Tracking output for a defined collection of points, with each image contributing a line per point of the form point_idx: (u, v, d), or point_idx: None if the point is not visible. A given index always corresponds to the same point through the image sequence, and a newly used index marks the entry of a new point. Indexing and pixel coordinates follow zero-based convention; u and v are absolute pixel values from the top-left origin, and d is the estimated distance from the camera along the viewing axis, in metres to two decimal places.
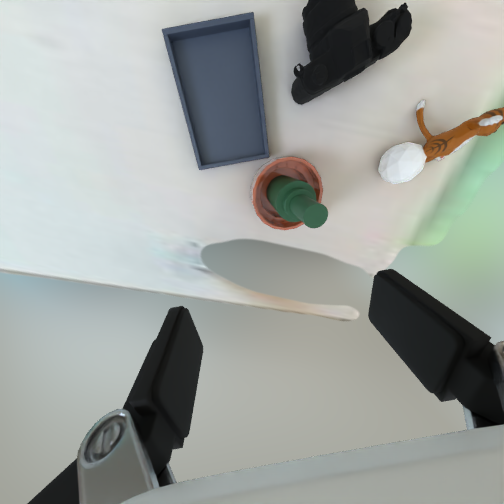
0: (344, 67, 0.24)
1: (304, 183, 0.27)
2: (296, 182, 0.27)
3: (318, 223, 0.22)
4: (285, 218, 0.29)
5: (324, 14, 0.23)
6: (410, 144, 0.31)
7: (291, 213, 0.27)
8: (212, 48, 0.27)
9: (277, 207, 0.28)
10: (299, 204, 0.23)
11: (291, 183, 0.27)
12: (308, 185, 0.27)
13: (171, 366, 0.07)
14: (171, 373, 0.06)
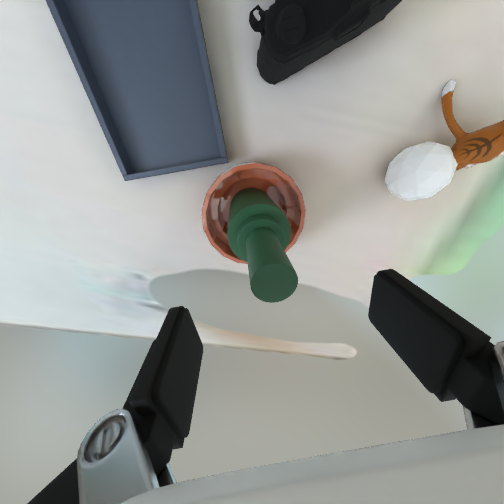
0: (334, 10, 0.14)
1: (270, 207, 0.17)
2: (257, 206, 0.17)
3: (281, 295, 0.12)
4: (244, 259, 0.19)
5: None
6: (434, 145, 0.21)
7: None
8: None
9: (230, 243, 0.18)
10: (251, 252, 0.13)
11: (249, 208, 0.17)
12: (277, 210, 0.17)
13: (171, 366, 0.07)
14: (171, 373, 0.06)
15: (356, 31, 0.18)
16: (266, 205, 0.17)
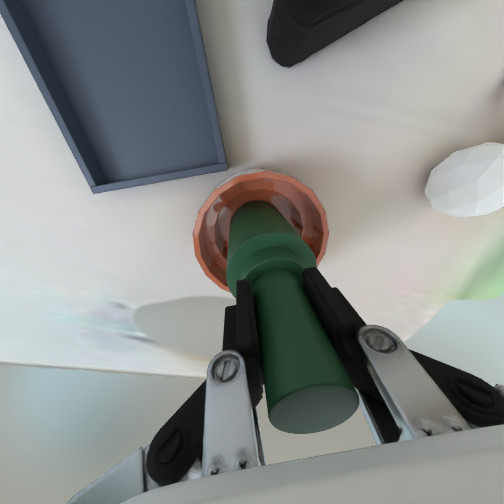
0: None
1: (288, 238, 0.11)
2: (269, 236, 0.11)
3: (324, 424, 0.06)
4: None
5: None
6: (503, 147, 0.16)
7: None
8: None
9: (230, 285, 0.13)
10: (265, 327, 0.08)
11: (257, 238, 0.11)
12: (298, 242, 0.12)
13: (255, 322, 0.08)
14: (256, 327, 0.08)
15: None
16: (283, 234, 0.11)
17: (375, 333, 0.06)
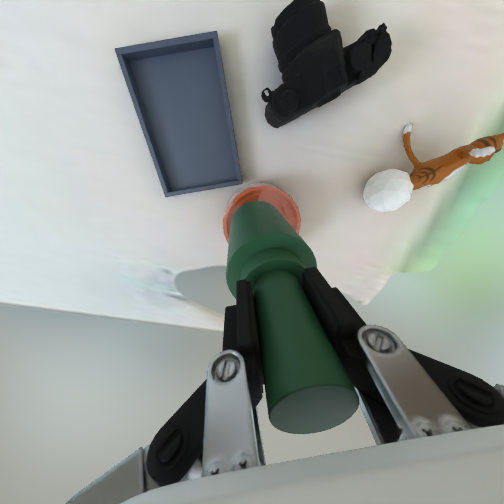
0: (316, 93, 0.21)
1: (288, 238, 0.11)
2: (269, 236, 0.11)
3: (324, 424, 0.06)
4: None
5: (293, 35, 0.20)
6: (395, 172, 0.28)
7: None
8: (174, 68, 0.25)
9: (230, 286, 0.13)
10: (266, 327, 0.08)
11: (258, 239, 0.11)
12: (298, 242, 0.12)
13: (255, 322, 0.08)
14: (256, 327, 0.08)
15: None
16: (283, 235, 0.11)
17: (375, 333, 0.06)
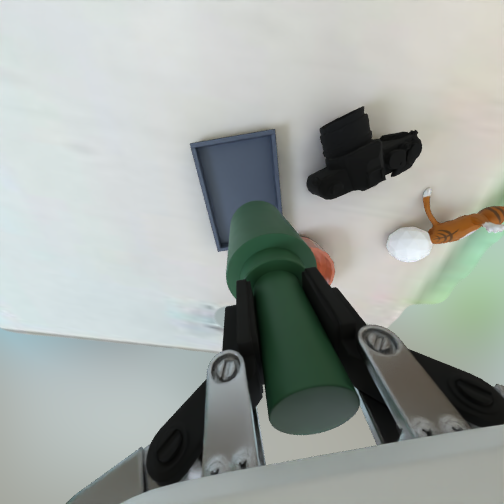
0: (359, 184, 0.26)
1: (289, 238, 0.11)
2: (269, 236, 0.11)
3: (324, 425, 0.06)
4: None
5: (341, 140, 0.25)
6: (418, 232, 0.33)
7: None
8: (234, 152, 0.29)
9: (230, 286, 0.13)
10: (266, 327, 0.08)
11: (258, 239, 0.11)
12: (298, 242, 0.12)
13: (255, 322, 0.08)
14: (256, 327, 0.08)
15: None
16: (283, 235, 0.11)
17: (375, 333, 0.06)
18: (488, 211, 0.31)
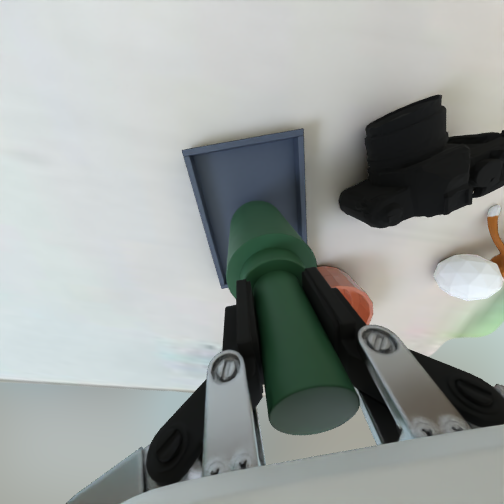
0: (427, 210, 0.18)
1: (289, 238, 0.11)
2: (269, 236, 0.11)
3: (324, 425, 0.06)
4: None
5: (405, 145, 0.17)
6: (484, 265, 0.25)
7: None
8: (244, 161, 0.21)
9: (230, 286, 0.13)
10: (266, 328, 0.08)
11: (258, 239, 0.11)
12: (298, 242, 0.12)
13: (255, 322, 0.08)
14: (256, 327, 0.08)
15: None
16: (283, 235, 0.11)
17: (375, 333, 0.06)
18: None
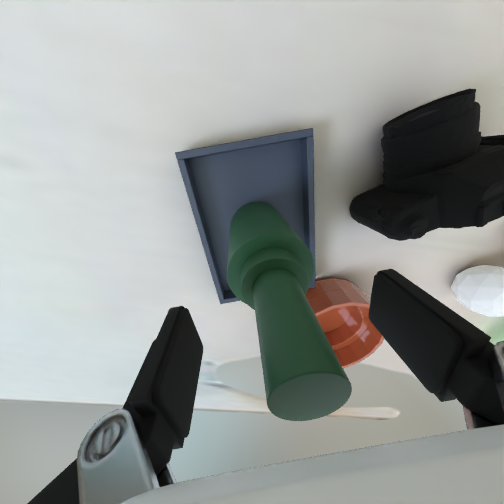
0: (456, 221, 0.16)
1: (287, 238, 0.12)
2: (268, 236, 0.12)
3: (319, 411, 0.07)
4: None
5: (431, 146, 0.15)
6: None
7: None
8: (245, 165, 0.19)
9: (230, 284, 0.13)
10: (265, 322, 0.08)
11: (257, 238, 0.12)
12: (296, 242, 0.12)
13: (171, 366, 0.07)
14: (171, 373, 0.06)
15: None
16: (282, 235, 0.12)
17: None
18: None
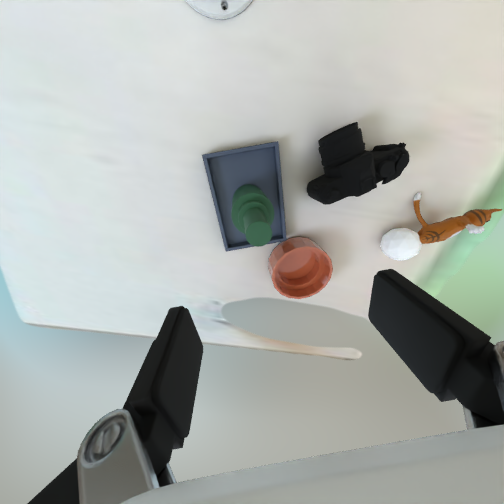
0: (353, 191, 0.29)
1: (259, 195, 0.25)
2: (251, 194, 0.25)
3: (263, 241, 0.20)
4: (242, 231, 0.27)
5: (337, 152, 0.28)
6: (408, 233, 0.36)
7: None
8: (241, 162, 0.32)
9: (233, 220, 0.27)
10: (246, 219, 0.22)
11: (245, 195, 0.25)
12: (264, 197, 0.25)
13: (171, 366, 0.07)
14: (171, 373, 0.06)
15: None
16: (257, 193, 0.25)
17: None
18: (471, 214, 0.34)
